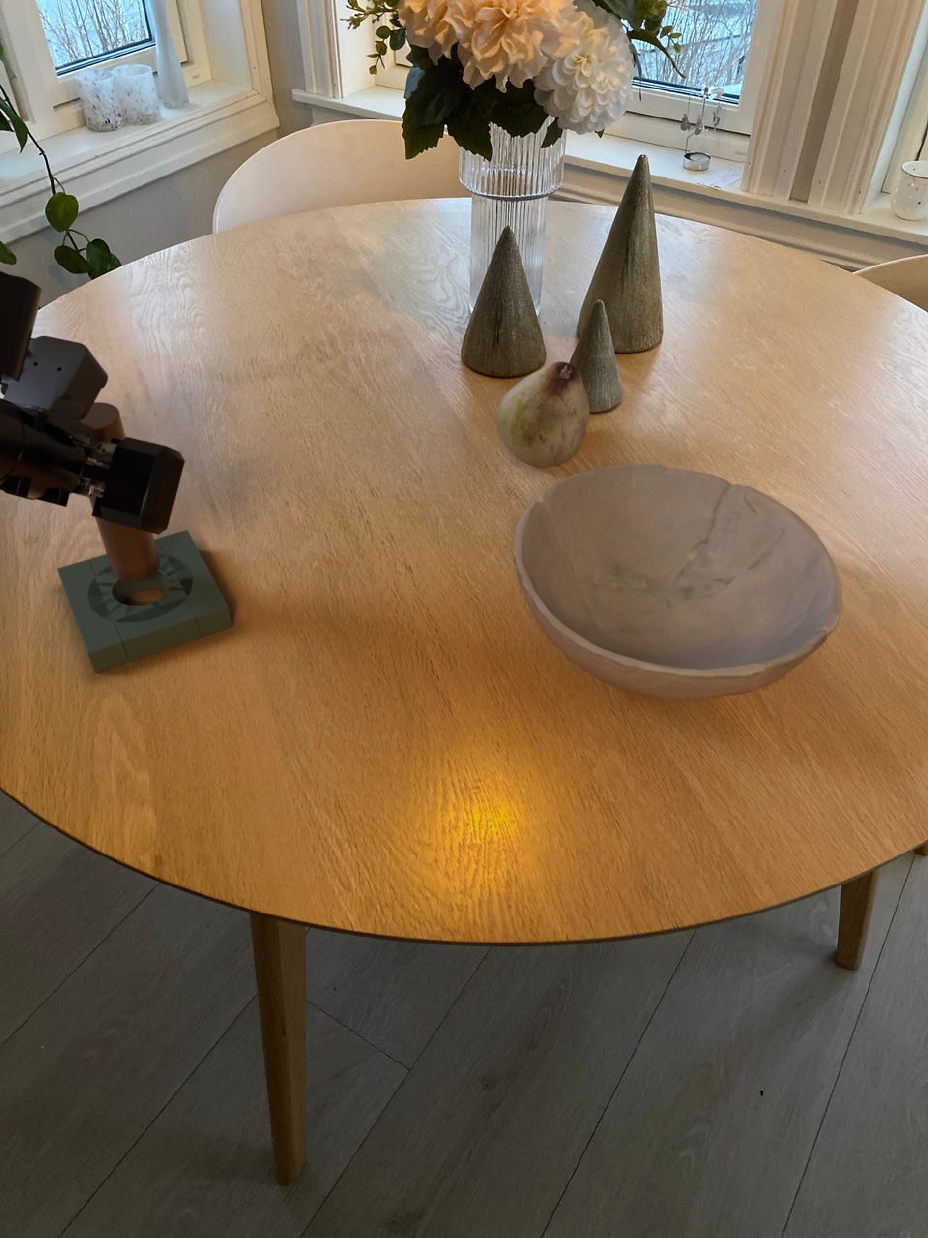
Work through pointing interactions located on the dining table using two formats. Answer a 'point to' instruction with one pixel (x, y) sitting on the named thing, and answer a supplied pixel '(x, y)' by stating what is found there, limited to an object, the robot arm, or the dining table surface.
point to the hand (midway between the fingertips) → (125, 486)
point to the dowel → (123, 545)
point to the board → (149, 627)
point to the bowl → (675, 581)
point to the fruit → (545, 415)
